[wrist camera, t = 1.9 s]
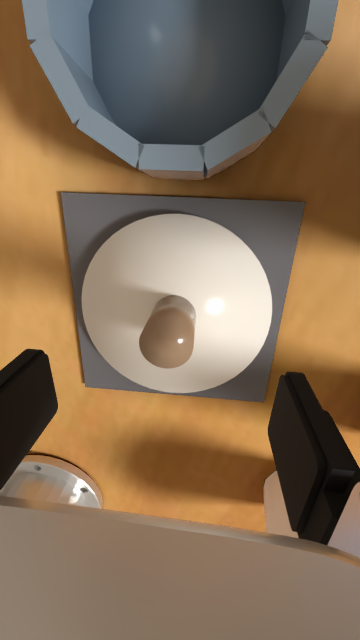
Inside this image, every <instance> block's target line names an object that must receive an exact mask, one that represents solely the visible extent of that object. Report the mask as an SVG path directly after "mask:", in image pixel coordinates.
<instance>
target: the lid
mask: <svg viewBox="0 0 360 640" xmlns="http://www.w3.org/2000/svg"><path fill="white" fill-rule="evenodd" d="M81 299H82V312H83V318H84V322H85V325H86V328H87V331H88V334H89V336H90V338H91V340H92V342H93V344H94V345H95V347H96V348H97V350H98V352H99V353H100V354H101V355H102V357H103V358H104V359H105V360H106V361H107V362H108V363H109V364H110V365H111V366H112V367H113V368H114V369H115V370H117V371H118V372H119V373H120V374H122V375H123V376H125V377H127V378H128V379H130V380H131V381H133V382H136V383H138V384H140V385H142V386H145V387H148V388H150V389H154V390H158V391H163V392H170V393H191V392H198V391H203V390H207V389H210V388H214V387H216V386H219V385H221V384H223V383H225V382H227V381H229V380H230V379H232V378H234V377H235V376H237V375H238V374H239V373H240V372H242V371H243V370H244V369H245V368H246V367H247V366H248V365H249V364H250V363H251V362H252V361H253V360H254V358H255V357H256V356H257V354H258V353H259V351H260V349H261V348H262V346H263V344H264V342H265V340H266V337H267V335H268V332H269V328H270V324H271V317H272V296H271V291H270V285H269V282H268V280H267V277H266V274H265V272H264V270H263V268H262V266H261V264H260V262H259V260H258V259H257V258H256V256H255V255H254V253H253V252H252V251H251V249H250V248H249V247H248V246H247V245H246V244H245V243H244V242H243V241H242V240H241V239H240V238H239V237H237V236H236V235H235V234H234V233H232V232H231V231H230V230H228V229H226V228H225V227H223V226H221V225H220V224H218V223H215V222H213V221H210V220H208V219H206V218H202V217H198V216H194V215H187V214H162V215H156V216H151V217H147V218H144V219H141V220H138V221H135V222H133V223H131V224H129V225H127V226H125V227H123V228H122V229H120V230H119V231H117V232H116V233H115V234H113V235H112V236H111V237H110V238H109V239H108V240H107V241H106V242H105V243H104V244H103V245H102V246H101V247H100V249H99V250H98V251H97V252H96V254H95V255H94V257H93V259H92V261H91V262H90V264H89V267H88V269H87V272H86V275H85V278H84V283H83V287H82V298H81Z"/></svg>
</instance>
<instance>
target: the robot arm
mask: <svg viewBox="0 0 360 640" xmlns="http://www.w3.org/2000/svg"><path fill="white" fill-rule="evenodd" d="M57 409H58V402H57V397H56V392H55V387H54V383H53V378H52V373H51V368H50V363H49V358H48V355H47V354H45V353H44V351H42V350H36V349H26V350H25V351H23V352H22V353H21V354H20V355H19V356H17V357H16V358H15V359H14V360H13V361H11V362H10V363H9V364H8V365H7V366H5V367H4V368H3V369H2V370H1V371H0V640H360V468H359V466H358V465H357V463H356V461H355V459H354V457H353V456H352V454H351V452H350V450H349V448H348V446H347V445H346V443H345V441H344V439H343V437H342V436H341V434H340V432H339V430H338V428H337V426H336V425H335V423H334V421H333V419H332V417H331V416H330V414H329V413H328V412H327V411H324V410H323V409H322V407H321V406H320V404H319V402H318V400H317V398H316V396H315V394H314V392H313V390H312V388H311V387H310V385H309V383H308V381H307V379H306V377H305V375H304V374H303V373H297V372H286V374H285V375H281V376H280V379H279V384H278V388H277V392H276V396H275V400H274V404H273V409H272V413H271V417H270V421H269V425H268V436H269V440H270V445H271V449H272V453H273V457H274V461H275V465H276V469H277V473H278V478H279V482H280V486H281V490H282V494H283V498H284V502H285V506H286V510H287V515H288V519H289V523H290V527H291V529H292V531H293V532H297V534H298V538H295V537H290V536H285V535H279V534H273V533H267V532H260V531H254V530H248V529H241V528H235V527H229V526H222V525H214V524H207V523H200V522H193V521H186V520H179V519H172V518H164V517H157V516H150V515H143V514H135V513H128V512H121V511H113V510H106V509H102V505H103V500H102V495H101V492H100V490H99V488H98V487H97V485H96V484H95V482H94V481H93V480H92V479H91V478H90V477H89V476H88V475H87V474H86V473H84V472H83V471H82V470H80V469H79V468H77V467H75V466H74V465H72V464H70V463H68V462H65V461H63V460H60V459H57V458H53V457H49V456H42V455H27V453H28V452H29V450H30V449H31V448H32V446H33V445H34V443H35V442H36V440H37V439H38V438H39V436H40V435H41V433H42V432H43V431H44V429H45V428H46V426H47V425H48V424H49V422H50V421H51V419H52V418H53V417H54V415H55V414H56V412H57Z"/></svg>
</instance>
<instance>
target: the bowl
mask: <svg viewBox="0 0 360 640" xmlns="http://www.w3.org/2000/svg"><path fill="white" fill-rule="evenodd" d="M22 5H23V12H24V19H25V26H26V33H27V40H29V41H30V42H31V43H32V44H31V45H30V48H31V49H32V51H33V53H34V55H35V57H36V58H37V60H38V62H39V64H40V66H41V67H42V69H43V71H44V73H45V75H46V76H47V78H48V80H49V82H50V83H51V85H52V87H53V89H54V91H55V92H56V94H57V96H58V98H59V100H60V101H61V103H62V105H63V107H64V109H65V110H66V112H67V114H68V116H69V118H70V119H71V121H72V123H73V124H75V125H76V126H77V128H78V129H79V130H81V131H82V132H84V133H85V134H87V135H88V136H90V137H91V138H92V139H94V140H95V141H97V142H98V143H100V144H101V145H103V146H104V147H105V148H107V149H108V150H110V151H111V152H113V153H114V154H116V155H117V156H118V157H120V158H121V159H123V160H124V161H126V162H127V163H129V164H130V165H131V166H133V167H134V168H136V169H138V170H140V171H142V172H144V173H146V174H147V175H149V176H151V177H154V178H167V179H174V180H194V179H196V180H204V178H205V177H206V178H207V179H208V178H209V177H211V176H213V175H214V174H217V173H219V172H221V171H223V170H225V169H227V168H229V167H230V166H232V165H233V164H235V163H236V162H238V161H239V160H240V159H242V158H243V157H245V156H247V155H249V154H250V153H252V152H254V151H255V150H256V148H258V147H259V145H260V144H261V143H262V142H263V141H264V140H265V139H266V138H267V137H268V136H269V135H270V134H271V132H272V131H273V130H274V129H275V128H276V127H277V125H278V124H279V122H280V120H281V119H282V117H283V116H284V114H285V113H286V111H287V110H288V108H289V107H290V105H291V103H292V102H293V100H294V99H295V97H296V96H297V94H298V93H299V91H300V90H301V88H302V86H303V85H304V83H305V82H306V80H307V79H308V77H309V76H310V74H311V73H312V71H313V69H314V68H315V66H316V65H317V63H318V62H319V60H320V59H321V57H322V55H323V54H324V52H325V51H326V49H327V48H328V47H327V44H328V43H329V42H330V40H331V36H332V31H333V26H334V21H335V16H336V11H337V6H338V0H22Z"/></svg>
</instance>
